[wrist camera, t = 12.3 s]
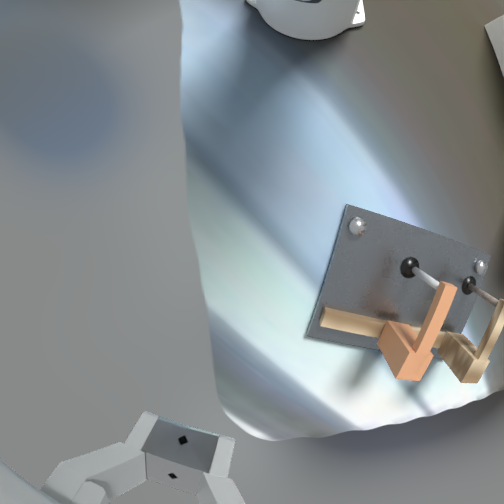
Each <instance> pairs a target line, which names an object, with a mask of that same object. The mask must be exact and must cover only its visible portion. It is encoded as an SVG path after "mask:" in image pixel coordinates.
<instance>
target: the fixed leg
mask: <svg viewBox="0 0 504 504" xmlns="http://www.w3.org/2000/svg"><path fill="white" fill-rule="evenodd" d="M468 289H470V290H471V291H473V292H474V293H476V294H477V295H479V296H480V297H482V298H483V299H485V300H486V301H488V302H489V303H491V304H492V305H494V306H495V307H496V309H495V311H494V314H493V316H492V318H491V321H490V323H489V325H488V327H487V330H486V332H485V334H484V336H483V338H482V340H481V342H480V344H479V346H478V348H476V347H475V346H474V345H473V344H472V343H471V342H470V341H469V340H468V339H467V338H466V337H465V336H464V335H463V334H458V333H453V332H448V331H447V332H441V331H439V334H438V336H437V338H436V340H435V342H434V344H433V346H432V347H434V348H439V350H438V352H437V353H438V354H439V355H440V356H441V358H442V359H443V360H444V361H445V363H446V364H447V365H448V366H449V368H450V369H451V370H452V372H453V373H454V374H455V375H456V377H457V378H458V379H459V381H460V382H461V383H478V381H479V379H480V378H481V376H482V374H483V373H484V371H485V369H486V367H487V365H488V364H489V362H490V361H489V360H488V359H487V358H488V356H489V354H490V352H491V351H492V349H493V347H494V345H495V343H496V340H497V338H498V336H499V334H500V332H501V330H502V328H503V325H504V300H503V299H499V300H497V299H496V298H494V297H492V296H491V295H489V294H488V293H486V292H484V291H483V290H481V289H480V288H478V287H476V286H475V285H473V284H471V283H470V284H469V285H468ZM319 322H320V326H322V327H327V328H331V329H336V330H341V331H346V332H350V333H355V334H360V335H365V336H371V337H376V338H380V336H381V334H382V331H383V329H384V327H385V324H386V322H387V321H386V320H381V319H377V318H372V317H367V316H363V315H358V314H354V313H349V312H345V311H340V310H336V309H332V308H327V307H324V310H323V312H322V315H321V318H320V321H319ZM410 327H411V328H412V329H413V330H414V332H415V333H416V334H417V335H418V334H419V332H420V329H421V327H415V326H410Z"/></svg>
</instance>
